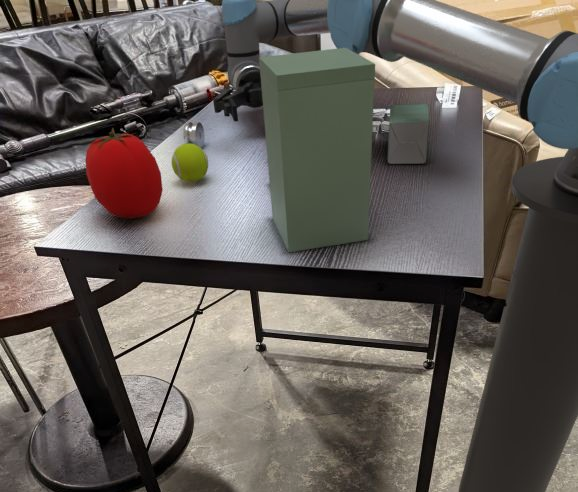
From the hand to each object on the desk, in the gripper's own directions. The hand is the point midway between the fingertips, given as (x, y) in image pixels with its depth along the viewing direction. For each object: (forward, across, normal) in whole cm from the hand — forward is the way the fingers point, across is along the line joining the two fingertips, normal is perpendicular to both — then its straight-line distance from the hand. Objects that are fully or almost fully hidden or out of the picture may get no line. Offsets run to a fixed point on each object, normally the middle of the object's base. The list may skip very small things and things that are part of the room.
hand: (270, 109), depth 102 cm
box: (+8, -25, -9) cm, 28 cm away
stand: (+36, 0, -9) cm, 37 cm away
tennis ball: (+8, +17, -9) cm, 21 cm away
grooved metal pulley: (-12, +15, -9) cm, 22 cm away
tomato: (+20, +28, -9) cm, 35 cm away
